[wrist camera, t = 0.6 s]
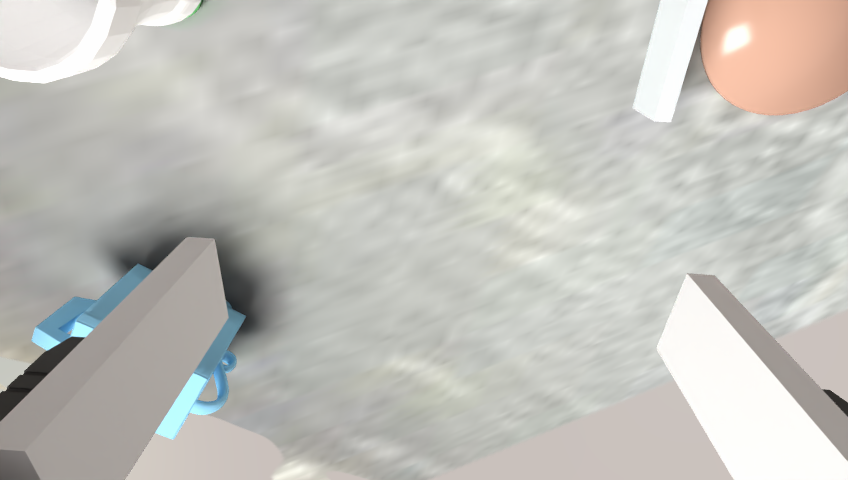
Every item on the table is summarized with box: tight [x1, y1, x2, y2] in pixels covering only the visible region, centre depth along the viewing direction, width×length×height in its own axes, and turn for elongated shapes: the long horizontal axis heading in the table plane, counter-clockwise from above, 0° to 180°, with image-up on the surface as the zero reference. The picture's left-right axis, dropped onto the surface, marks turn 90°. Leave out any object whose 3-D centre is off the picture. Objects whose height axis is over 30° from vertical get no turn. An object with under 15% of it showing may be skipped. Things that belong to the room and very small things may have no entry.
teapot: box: [32, 264, 246, 439], centre depth 42 cm, size 16×18×11 cm
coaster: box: [700, 0, 848, 115], centre depth 32 cm, size 14×14×1 cm
